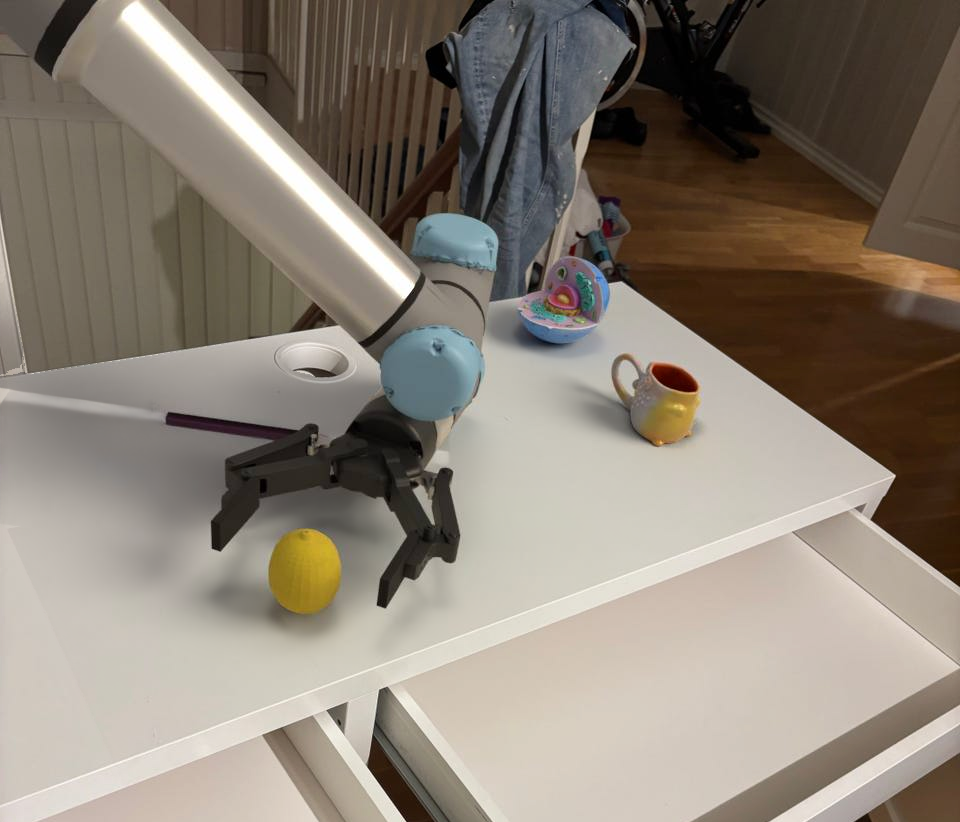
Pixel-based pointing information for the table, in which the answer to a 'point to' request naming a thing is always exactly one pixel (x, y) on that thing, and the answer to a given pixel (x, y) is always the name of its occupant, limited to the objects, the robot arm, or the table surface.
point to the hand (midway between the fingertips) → (298, 565)
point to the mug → (659, 399)
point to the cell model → (566, 302)
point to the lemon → (304, 571)
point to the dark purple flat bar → (227, 426)
